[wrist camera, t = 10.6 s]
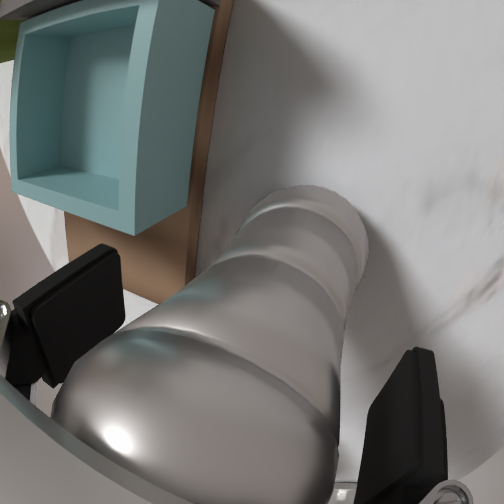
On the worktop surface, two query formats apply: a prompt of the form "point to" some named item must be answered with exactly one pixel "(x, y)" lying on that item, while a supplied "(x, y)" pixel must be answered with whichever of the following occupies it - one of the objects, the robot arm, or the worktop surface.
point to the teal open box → (109, 108)
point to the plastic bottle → (234, 364)
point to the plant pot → (8, 39)
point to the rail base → (174, 226)
